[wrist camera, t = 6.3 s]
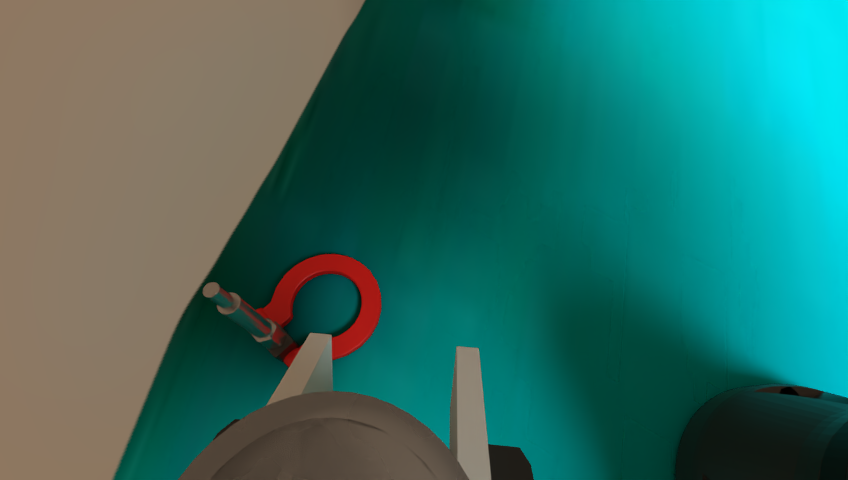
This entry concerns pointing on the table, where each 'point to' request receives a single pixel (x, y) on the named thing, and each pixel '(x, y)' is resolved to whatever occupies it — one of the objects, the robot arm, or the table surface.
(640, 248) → the table surface
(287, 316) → the tow hook
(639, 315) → the table surface
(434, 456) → the domed cap cylinder
